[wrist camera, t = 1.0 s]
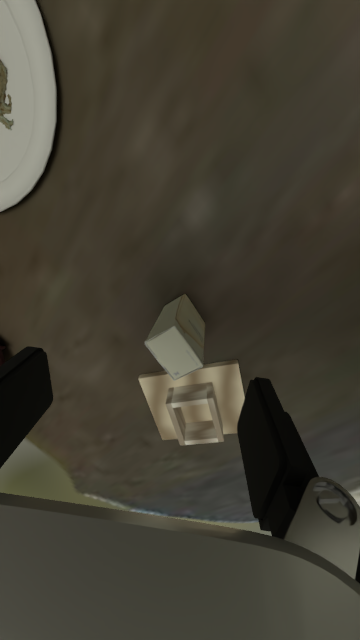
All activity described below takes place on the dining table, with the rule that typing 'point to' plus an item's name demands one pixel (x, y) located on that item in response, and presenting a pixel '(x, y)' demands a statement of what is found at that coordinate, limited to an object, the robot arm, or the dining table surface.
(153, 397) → the socket stand
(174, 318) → the skincare box
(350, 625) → the robot arm
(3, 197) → the plated food
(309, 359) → the dining table surface
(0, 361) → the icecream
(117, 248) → the dining table surface
